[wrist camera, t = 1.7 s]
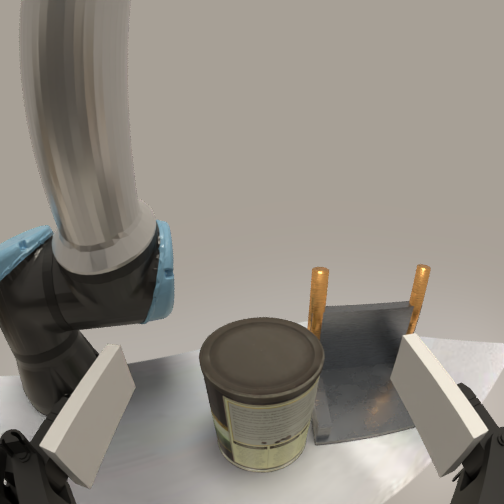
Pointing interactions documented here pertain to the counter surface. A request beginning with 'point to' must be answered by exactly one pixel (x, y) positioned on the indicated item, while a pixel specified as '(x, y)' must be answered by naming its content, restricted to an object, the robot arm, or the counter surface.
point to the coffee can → (261, 389)
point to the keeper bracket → (360, 362)
